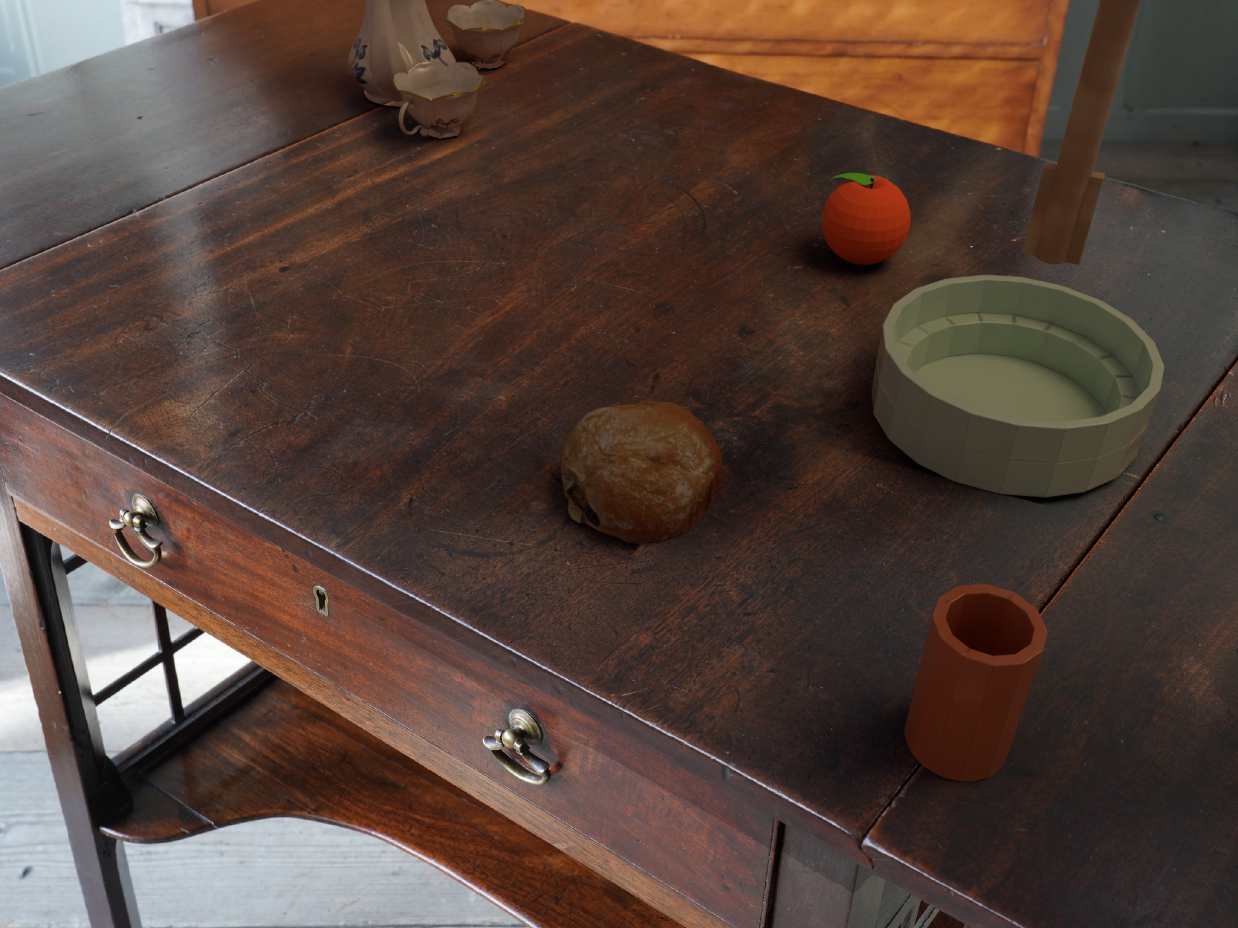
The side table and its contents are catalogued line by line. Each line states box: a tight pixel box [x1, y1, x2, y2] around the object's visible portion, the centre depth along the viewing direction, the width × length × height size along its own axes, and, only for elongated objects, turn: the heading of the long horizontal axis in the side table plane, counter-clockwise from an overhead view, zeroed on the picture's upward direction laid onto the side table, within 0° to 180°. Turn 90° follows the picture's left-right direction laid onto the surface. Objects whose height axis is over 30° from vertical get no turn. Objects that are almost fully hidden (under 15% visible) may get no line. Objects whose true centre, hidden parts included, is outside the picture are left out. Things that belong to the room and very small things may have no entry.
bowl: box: [871, 274, 1165, 498], centre depth 80 cm, size 17×17×6 cm
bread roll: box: [560, 400, 724, 545], centre depth 75 cm, size 10×10×8 cm
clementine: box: [820, 172, 912, 266], centre depth 97 cm, size 8×7×7 cm
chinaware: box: [347, 0, 527, 137], centre depth 119 cm, size 28×17×17 cm, turn 176°
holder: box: [903, 583, 1049, 782], centre depth 58 cm, size 5×5×9 cm
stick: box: [1021, 0, 1142, 266], centre depth 59 cm, size 3×2×20 cm, turn 66°
